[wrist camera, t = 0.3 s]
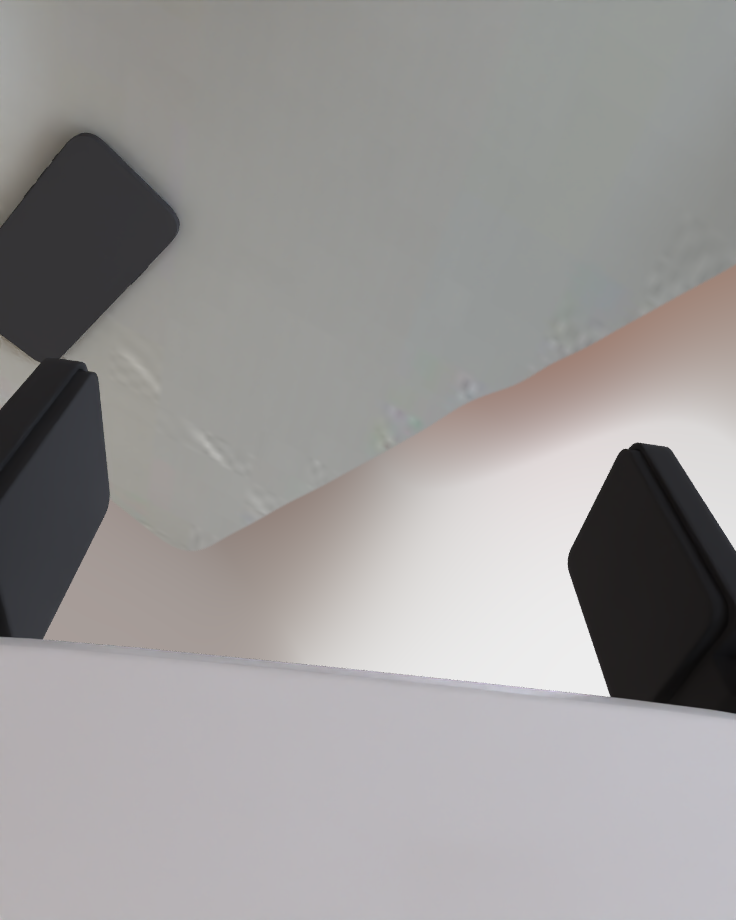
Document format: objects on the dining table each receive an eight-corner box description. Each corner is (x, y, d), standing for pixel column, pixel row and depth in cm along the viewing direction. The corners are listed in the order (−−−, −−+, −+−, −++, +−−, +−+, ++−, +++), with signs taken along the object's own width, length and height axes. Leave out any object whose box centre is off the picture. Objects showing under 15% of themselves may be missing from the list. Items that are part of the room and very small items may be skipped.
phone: (-53, 294, 41) (79, 123, 35) (-47, 289, 42) (85, 121, 36) (48, 371, 44) (185, 227, 38) (53, 365, 45) (189, 223, 39)
